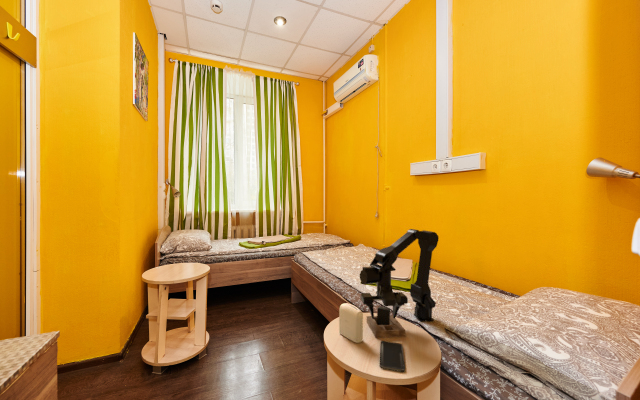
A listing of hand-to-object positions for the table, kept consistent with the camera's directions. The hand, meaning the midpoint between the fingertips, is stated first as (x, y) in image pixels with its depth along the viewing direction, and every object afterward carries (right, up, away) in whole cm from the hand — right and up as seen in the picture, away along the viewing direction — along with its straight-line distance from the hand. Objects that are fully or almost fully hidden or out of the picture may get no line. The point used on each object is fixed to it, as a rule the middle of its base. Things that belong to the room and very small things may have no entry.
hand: (383, 318), depth 106 cm
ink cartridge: (0, -4, 0) cm, 4 cm away
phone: (-2, -4, -20) cm, 21 cm away
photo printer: (-15, -4, -8) cm, 17 cm away
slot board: (0, -4, -2) cm, 4 cm away
